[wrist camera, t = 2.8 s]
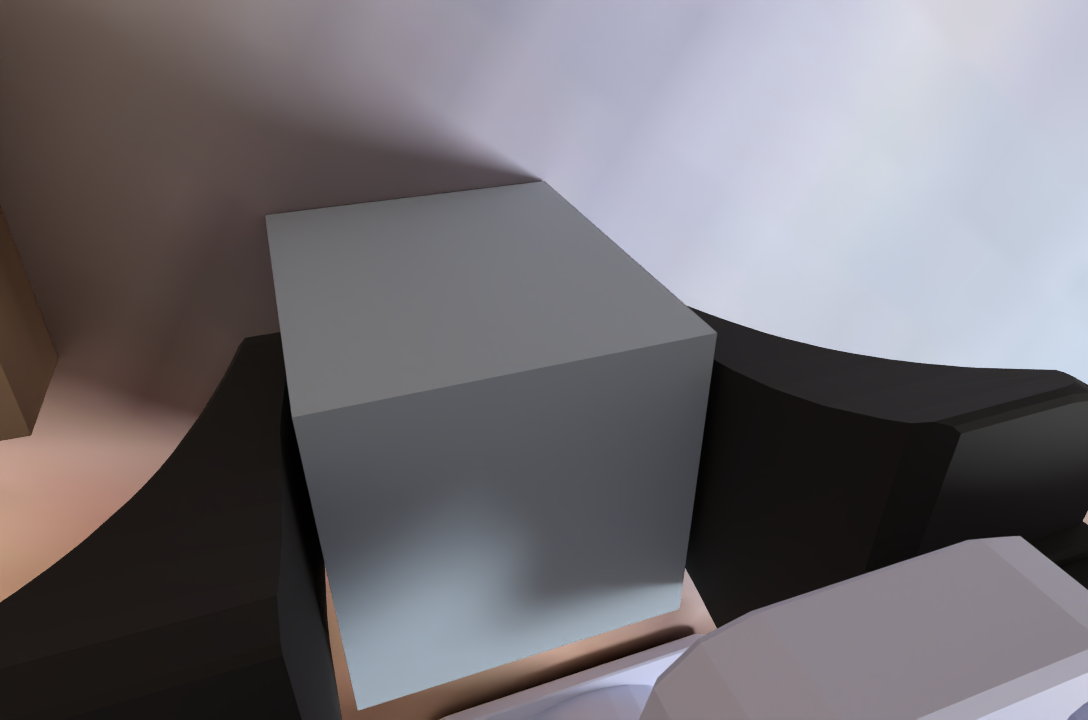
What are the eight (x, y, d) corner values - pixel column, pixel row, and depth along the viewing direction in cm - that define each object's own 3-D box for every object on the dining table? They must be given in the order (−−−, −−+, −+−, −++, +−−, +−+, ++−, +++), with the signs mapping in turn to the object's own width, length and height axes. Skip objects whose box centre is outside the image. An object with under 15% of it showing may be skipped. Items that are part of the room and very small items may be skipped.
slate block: (544, 399, 15) (679, 608, 11) (314, 449, 14) (357, 710, 9) (544, 180, 13) (717, 332, 8) (264, 215, 11) (291, 416, 7)
